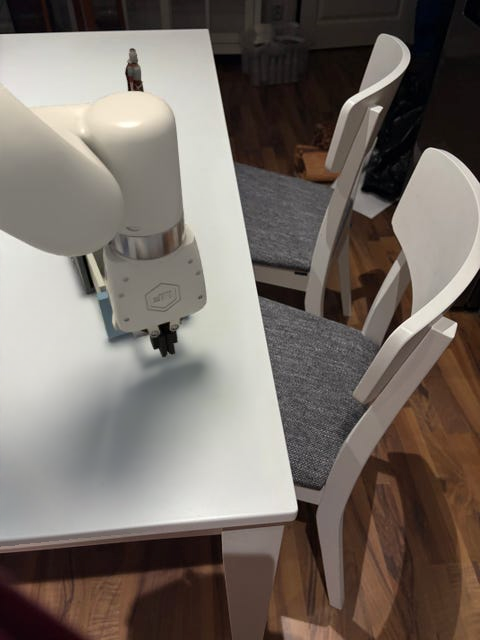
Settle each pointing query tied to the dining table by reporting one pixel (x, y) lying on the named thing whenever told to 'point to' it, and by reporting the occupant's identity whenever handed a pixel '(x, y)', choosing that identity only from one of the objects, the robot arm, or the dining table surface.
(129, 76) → the figurine
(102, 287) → the drawer
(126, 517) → the dining table surface
